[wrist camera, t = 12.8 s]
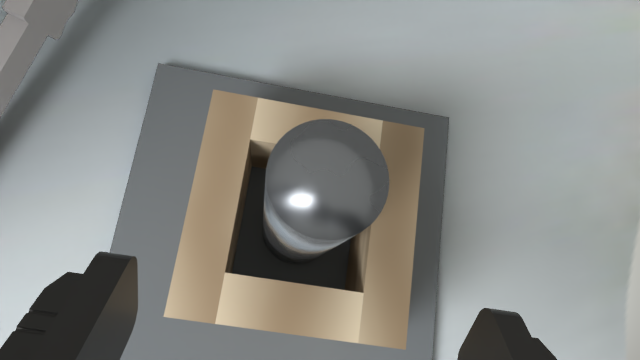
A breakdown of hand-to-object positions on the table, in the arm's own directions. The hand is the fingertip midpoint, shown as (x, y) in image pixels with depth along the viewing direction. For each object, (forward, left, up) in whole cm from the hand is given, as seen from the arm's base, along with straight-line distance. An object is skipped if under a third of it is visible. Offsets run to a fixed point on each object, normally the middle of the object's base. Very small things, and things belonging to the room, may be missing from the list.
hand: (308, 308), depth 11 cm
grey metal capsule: (0, +3, -10) cm, 11 cm away
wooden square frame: (0, +3, -10) cm, 11 cm away
